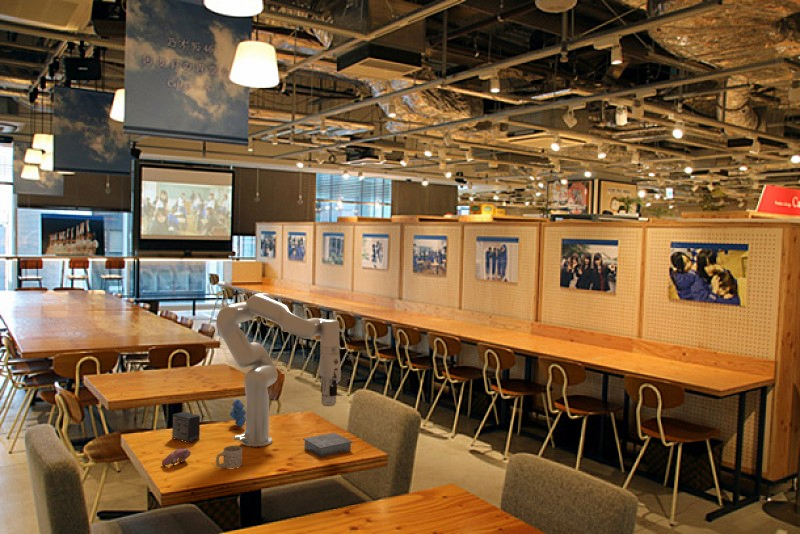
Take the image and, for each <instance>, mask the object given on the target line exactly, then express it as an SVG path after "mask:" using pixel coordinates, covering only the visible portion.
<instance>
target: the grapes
mask: <svg viewBox="0 0 800 534" xmlns="http://www.w3.org/2000/svg"><path fill="white" fill-rule="evenodd" d="M232 406H233V407H232V409H231V411H230V412H229V416H230V417H231V418H232V419H233V420H234V421H235V422H234V424H235V425H236V427H240V428H243V427H244V425H245V423H246V409H244V407H245V404H244V403H242V401H241V400H240V399H239V398H238V399H236V400H234V401H233V402H232Z"/></svg>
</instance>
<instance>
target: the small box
mask: <svg viewBox="0 0 800 534" xmlns="http://www.w3.org/2000/svg"><path fill="white" fill-rule="evenodd" d="M200 419H201V415H198V414H195V413H189V412H186V411H182V412H177V413H173V414H172V429H171V430H172V436H171V438H175V439H179V440H183V441H186V442H190V443H192V442H191V441H193V442H196V441H199V440H200V435H201V434H200V432H201V431H200V428H201V426H200V425H201V424H200V421H201V420H200ZM175 439H174V440H175ZM198 439H199V440H198ZM179 440H178V441H179ZM195 440H196V441H195ZM186 442H185V443H186Z"/></svg>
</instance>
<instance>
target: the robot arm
mask: <svg viewBox="0 0 800 534" xmlns="http://www.w3.org/2000/svg"><path fill="white" fill-rule="evenodd" d="M257 317H260V318H263V319H265V320H268V321H270V322H272V323H275V324H276V325H278V326H279V327H280V328H282V329H283V330H284V331H286V332H287V333H289V334H292V335H294V336H296V337H299V338H302V339H304V340H306V339H308V340H309V339H312V338H314V337H315V338H316V337H318V336H319V337H320V347H319V348H320V350H319V351H320V352H319V353H320V356H319V364H318V368H319V369H318V372H317V373H318V375H319V378H320V393H321V394H322V372H323V371H325V372H326V373H327V378H328V379H330V385H331V386H330V396H336V397H337V396H338V386H339V382H340V381H341V376H342V370H341V369H342V368H341V357H340V356H341V355H340V322H339V320H338V319H323V318H320V317H312V318H308V319H305V318H302V317H300V316H298V315H295V314H294V313H292V312H291V311H290V310H289V306H288V305H286V304H284V303H282V302H279V301H278V300H275V297H274V296H273V295H272V294H271V293H268V292H260V293H255V294H254V293H253V295H251V296H250V297H249V298H248V299H246V300H244V301H242V302H235V303H231V304H227V305H225V306H224V307H221V309H220V310H219V312H218V314H217V315H216V320H215V321H216V329H217V332H218V333H219V334H220V336H221V337H222V339H223V341H224V342H225V345H226V347H227V349H228V350H229V352H230V354H231V355H232V357H233V359H234V361H235V363H236V364H237V365H238V366H239V367H241V368H246V369H247V368H250V367H251V369H250V370H249V371H247V372H246V373H245V375H244V379H243V380H244V382H243V384H244V391H245V411H246V414H245V418H246V421H245V431H243V432H242V433H241V434H240V435H234V436H233V440H234V442H236V441H239V442H241V444H242V445H244V446H245V445H246V447H251V446H252V448H253V447H254V448H255V447H258V446H259V447H264V446H269V445H271V444H272V443H273V438H272V437H271V436H270V435H269V433H270V430H269V429H270V425H269V424H270V396H269V391H268V387H270V386H273V385H274V384H275V383H276V381H277V380H278V375H279V373H278V370H277V367H276V365H275V364H274V362H273V360H272V358H271V357H270V354H269V353H268V351H267V350H266V348H265V347H264V346H263V345H262V344H261V343H259V342H255V341H252V342H250V341H249V339H248V338H247V335H246V334H245V331H243V330H242V329H241V328H240V327H239V326H238V324H240V323H245V322H248V321H251V320H253V319H255V318H257ZM332 377H335V378H332ZM332 380H335V381H334V382H333V381H332Z"/></svg>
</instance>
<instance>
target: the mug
mask: <svg viewBox="0 0 800 534" xmlns="http://www.w3.org/2000/svg"><path fill="white" fill-rule="evenodd" d="M215 457H216V458H215V463H216V467H217V468H224V467H225V468H224V469H226V468H237V467H240V466H241V465H242V463H243V447H242V446H239V445H228V446H226V447H224V448H223V452H220V453H219V454H217V455H216V456H215ZM221 457H223V462H221V463H220V458H221ZM241 467H242V466H241ZM241 467H240V468H241ZM237 469H238V468H237Z"/></svg>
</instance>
